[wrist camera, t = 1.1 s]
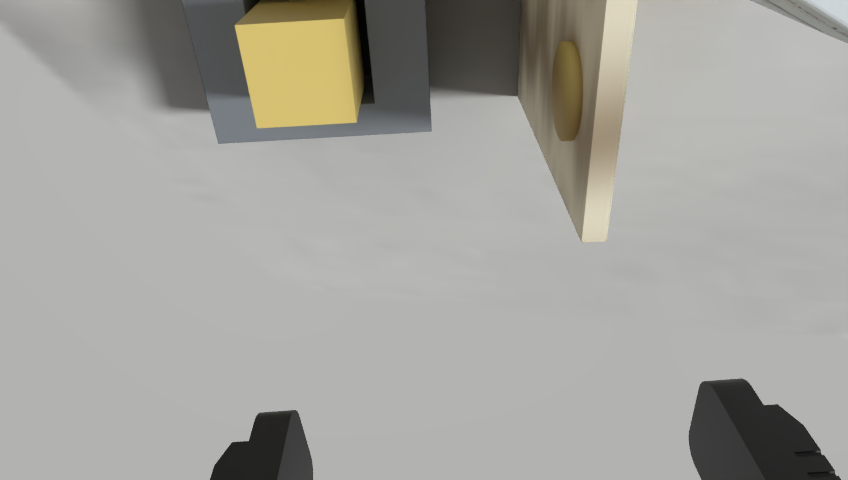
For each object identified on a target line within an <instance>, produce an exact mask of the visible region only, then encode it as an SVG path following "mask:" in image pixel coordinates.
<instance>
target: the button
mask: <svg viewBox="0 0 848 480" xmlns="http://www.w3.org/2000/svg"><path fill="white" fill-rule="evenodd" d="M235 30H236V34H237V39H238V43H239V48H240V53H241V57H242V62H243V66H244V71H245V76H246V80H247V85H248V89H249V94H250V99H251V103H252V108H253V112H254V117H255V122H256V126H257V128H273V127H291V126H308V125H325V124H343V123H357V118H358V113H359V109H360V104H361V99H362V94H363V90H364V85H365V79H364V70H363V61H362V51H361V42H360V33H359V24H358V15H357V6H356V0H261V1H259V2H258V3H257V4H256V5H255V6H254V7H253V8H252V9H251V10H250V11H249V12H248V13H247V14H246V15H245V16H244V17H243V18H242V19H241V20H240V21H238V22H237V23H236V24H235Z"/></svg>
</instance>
